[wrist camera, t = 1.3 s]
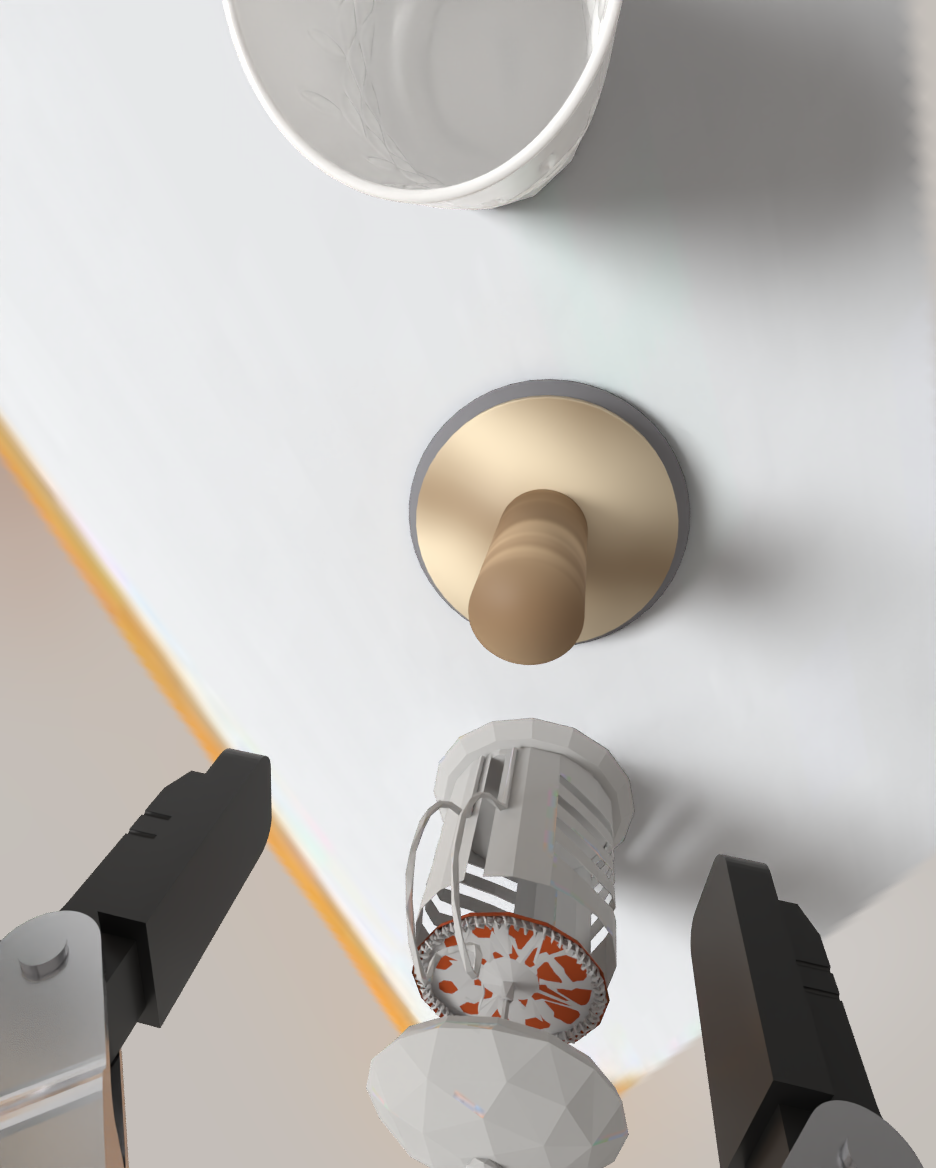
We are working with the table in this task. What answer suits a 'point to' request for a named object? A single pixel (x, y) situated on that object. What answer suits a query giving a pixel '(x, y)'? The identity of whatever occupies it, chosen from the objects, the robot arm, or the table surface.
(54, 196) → the table surface
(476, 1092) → the french press
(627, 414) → the mat
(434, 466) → the lid
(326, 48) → the white cup
